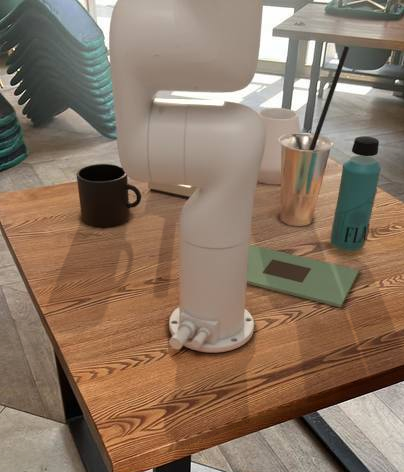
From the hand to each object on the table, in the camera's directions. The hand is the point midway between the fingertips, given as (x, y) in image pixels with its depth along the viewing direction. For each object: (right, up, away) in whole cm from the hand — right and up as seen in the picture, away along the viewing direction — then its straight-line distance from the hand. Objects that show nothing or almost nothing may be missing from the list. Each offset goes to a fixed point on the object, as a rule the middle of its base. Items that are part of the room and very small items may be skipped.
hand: (239, 58), depth 104 cm
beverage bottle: (+20, -35, +1) cm, 40 cm away
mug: (-25, -27, +10) cm, 38 cm away
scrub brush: (-13, -18, +20) cm, 30 cm away
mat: (+9, -40, -6) cm, 42 cm away
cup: (+9, -13, +28) cm, 32 cm away
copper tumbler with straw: (+13, -26, +11) cm, 31 cm away
